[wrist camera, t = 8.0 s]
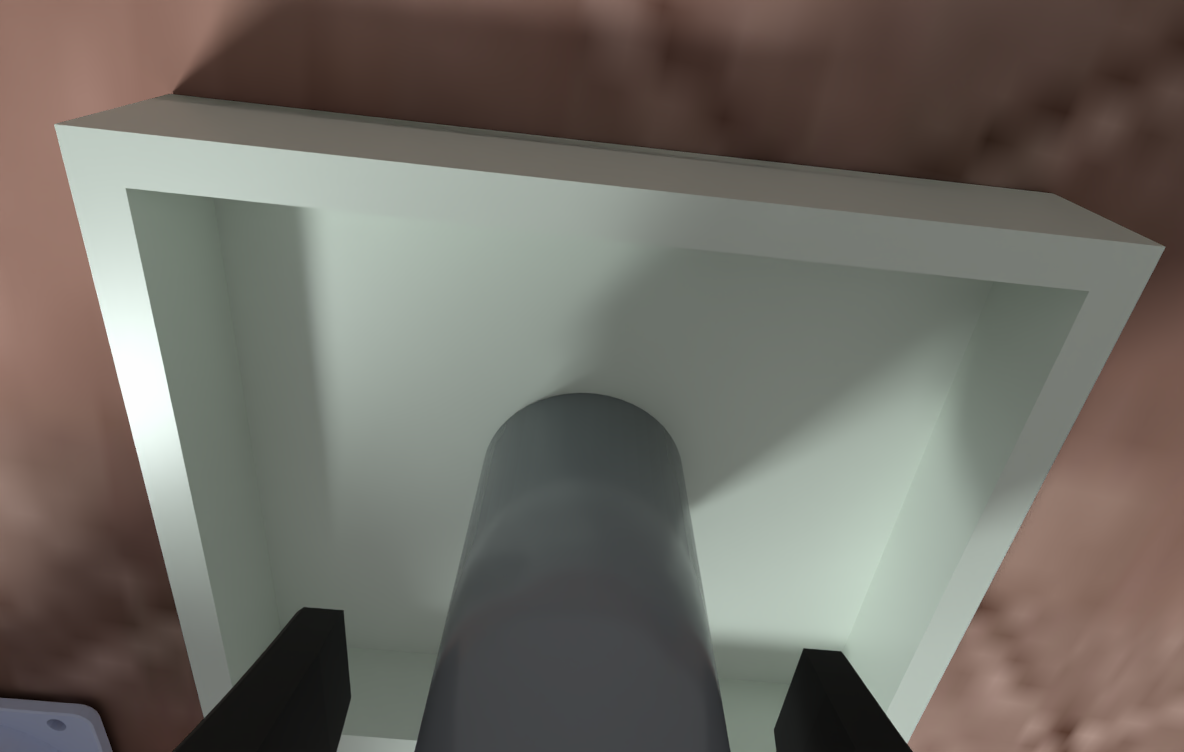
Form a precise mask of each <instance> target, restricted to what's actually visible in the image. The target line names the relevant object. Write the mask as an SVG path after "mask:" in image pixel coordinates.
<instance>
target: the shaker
mask: <svg viewBox="0 0 1184 752" xmlns="http://www.w3.org/2000/svg"><path fill="white" fill-rule="evenodd" d="M414 752H731V751H730V745H729V739H728V734H727V728H726V722H725V716H724V710H723V704H722V698H721V692H720V686H719V680H718V674H717V668H716V663H715V657H714V651H713V645H712V639H711V633H710V627H709V621H708V615H707V609H706V603H705V598H704V592H703V586H702V580H701V574H700V568H699V562H698V556H697V550H696V544H695V538H694V533H693V527H692V521H691V515H690V509H689V503H688V497H687V491H686V485H685V479H684V473H683V467H682V462H681V457H680V454H679V451H678V449H677V446H676V444H675V442H674V441H673V439H672V437H671V436H670V434H669V433H668V432H667V430H666V429H665V428H664V427H663V426H662V425H661V424H660V423H659V422H658V421H657V420H656V419H655V418H654V417H653V416H651V415H650V414H649V413H647V412H646V411H644V410H643V409H641V408H639V407H637V406H635V405H634V404H631V403H629V402H626V401H624V400H621V399H618V398H615V397H611V396H607V395H601V394H594V393H570V394H562V395H557V396H552V397H549V398H545V399H542V400H539V401H537V402H535V403H532V404H530V405H528V406H526V407H524V408H523V409H521V410H520V411H518V412H516V413H515V414H514V415H513V416H511V417H510V418H509V419H508V420H507V421H506V422H505V423H504V424H503V425H502V426H501V427H500V428H499V429H498V431H497V432H496V434H495V435H494V436H493V438H492V440H491V442H490V444H489V446H488V448H487V451H486V455H485V458H484V462H483V466H482V470H481V475H480V479H479V483H478V487H477V491H476V496H475V500H474V504H473V508H472V512H471V517H470V521H469V525H468V529H467V533H466V538H465V542H464V546H463V550H462V554H461V558H460V563H459V567H458V571H457V575H456V579H455V584H454V588H453V592H452V596H451V600H450V605H449V609H448V613H447V617H446V621H445V626H444V630H443V634H442V638H441V642H440V646H439V651H438V655H437V659H436V663H435V667H434V672H433V676H432V680H431V684H430V688H429V693H428V697H427V701H426V705H425V709H424V714H423V718H422V722H421V726H420V730H419V734H418V739H417V743H416V747H415V751H414Z"/></svg>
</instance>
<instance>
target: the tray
mask: <svg viewBox="0 0 1184 752" xmlns="http://www.w3.org/2000/svg"><path fill="white" fill-rule="evenodd" d="M54 125H55V129H56V133H57V137H58V141H59V145H60V149H61V153H62V157H63V161H64V165H65V169H66V173H67V177H68V181H69V185H70V189H71V193H72V197H73V201H74V205H75V209H76V213H77V217H78V221H79V224H80V228H81V232H82V236H83V240H84V244H85V248H86V252H87V256H88V260H89V264H90V268H91V272H92V276H93V280H94V284H95V288H96V292H97V296H98V300H99V304H100V308H101V312H102V316H103V320H104V324H105V328H106V332H107V336H108V340H109V343H110V347H111V351H112V355H113V359H114V363H115V367H116V371H117V375H118V379H119V383H120V387H121V391H122V395H123V399H124V403H125V407H126V411H127V415H128V419H129V423H130V427H131V431H132V435H133V439H134V443H135V447H136V451H137V455H138V459H139V462H140V466H141V470H142V474H143V478H144V482H145V486H146V490H147V494H148V498H149V502H150V506H151V510H152V514H153V518H154V522H155V526H156V530H157V534H158V538H159V542H160V546H161V550H162V554H163V558H164V562H165V566H166V570H167V574H168V578H169V582H170V585H171V589H172V593H173V597H174V601H175V605H176V609H177V613H178V617H179V621H180V625H181V629H182V633H183V637H184V641H185V645H186V649H187V653H188V657H189V661H190V665H191V669H192V673H193V677H194V681H195V685H196V689H197V693H198V697H199V701H200V704H201V708H202V712H203V716H204V718H205V717H206V716H207V715H208V713H209V712H210V711H211V710H212V709H213V708H214V707H215V706H216V705H217V704H218V703H219V702H220V701H221V699H222V698H223V697H224V696H225V695H226V694H227V693H228V692H229V691H230V690H231V689H232V687H233V686H234V685H235V684H236V683H237V682H238V681H239V680H240V678H241V677H242V676H243V675H244V674H245V673H246V672H247V670H248V669H249V668H250V667H251V666H252V665H253V664H254V662H255V661H256V660H257V659H258V658H259V657H260V656H261V654H262V653H263V652H264V651H265V650H266V648H267V647H268V646H269V645H270V644H271V643H272V641H273V640H274V639H275V638H276V637H277V635H278V634H279V633H280V632H281V631H282V629H283V628H284V627H285V626H286V625H287V623H288V622H289V621H290V620H291V618H292V617H293V616H294V615H295V613H296V612H297V611H299V610H300V609H302V608H303V607H310V608H322V609H335V610H344V620H345V631H346V643H347V654H348V665H349V676H350V688H351V701H350V704H349V708H348V712H347V716H346V719H345V723H344V727H343V731H342V734H341V738H340V741H339V745H338V748H337V752H414V751H415V747H416V743H417V739H418V734H419V730H420V726H421V722H422V718H423V714H424V709H425V705H426V701H427V697H428V693H429V688H430V684H431V680H432V676H433V672H434V667H435V663H436V659H437V655H438V651H439V646H440V642H441V638H442V634H443V630H444V626H445V621H446V617H447V613H448V609H449V605H450V600H451V596H452V592H453V588H454V584H455V579H456V575H457V571H458V567H459V563H460V558H461V554H462V550H463V546H464V542H465V538H466V533H467V529H468V525H469V521H470V517H471V512H472V508H473V504H474V500H475V496H476V491H477V487H478V483H479V479H480V475H481V470H482V466H483V462H484V458H485V455H486V451H487V448H488V446H489V444H490V442H491V440H492V438H493V436H494V435H495V434H496V432H497V431H498V429H499V428H500V427H501V426H502V425H503V424H504V423H505V422H506V421H507V420H508V419H509V418H510V417H511V416H513V415H514V414H515V413H516V412H518V411H520V410H521V409H523V408H524V407H526V406H528V405H530V404H532V403H535V402H537V401H539V400H542V399H545V398H549V397H552V396H557V395H562V394H570V393H594V394H601V395H607V396H611V397H615V398H618V399H621V400H624V401H626V402H629V403H631V404H634V405H635V406H637V407H639V408H641V409H643V410H644V411H646V412H647V413H649V414H650V415H651V416H653V417H654V418H655V419H656V420H657V421H658V422H659V423H660V424H661V425H662V426H663V427H664V428H665V429H666V430H667V432H668V433H669V434H670V436H671V437H672V439H673V441H674V442H675V444H676V446H677V449H678V451H679V454H680V457H681V462H682V467H683V473H684V479H685V485H686V491H687V497H688V503H689V509H690V515H691V521H692V527H693V533H694V538H695V544H696V550H697V556H698V562H699V568H700V574H701V580H702V586H703V592H704V598H705V603H706V609H707V615H708V621H709V627H710V633H711V639H712V645H713V651H714V657H715V663H716V668H717V674H718V680H719V686H720V692H721V698H722V704H723V710H724V716H725V722H726V728H727V734H728V739H729V745H730V751H731V752H776V745H775V737H774V728H775V725H776V722H777V719H778V717H779V714H780V711H781V708H782V706H783V703H784V700H785V697H786V695H787V692H788V689H789V686H790V684H791V681H792V678H793V675H794V673H795V670H796V667H797V665H798V662H799V659H800V656H801V654H802V651H803V648H807V649H819V650H831V651H841V652H842V653H843V654H844V655H845V657H846V658H847V659H848V661H849V662H850V664H851V665H852V666H853V668H854V669H855V671H856V672H857V674H858V675H859V677H860V678H861V679H862V681H863V682H864V684H865V685H866V687H867V688H868V689H869V691H870V692H871V694H872V695H873V697H874V698H875V699H876V701H877V702H878V704H879V705H880V707H881V708H882V709H883V711H884V712H885V714H886V715H887V717H888V718H889V719H890V721H891V722H892V724H893V725H894V726H895V728H896V729H897V731H898V732H899V733H900V735H901V736H902V738H903V739H904V740H905V742H906V743H908V741H909V739H910V737H911V735H912V733H913V731H914V729H915V727H916V725H917V724H918V722H919V720H920V718H921V716H922V714H923V712H924V710H925V708H926V706H927V704H928V702H929V700H930V699H931V697H932V695H933V693H934V691H935V689H936V687H937V685H938V683H939V681H940V679H941V677H942V676H943V674H944V672H945V670H946V668H947V666H948V664H949V662H950V660H951V658H952V656H953V654H954V653H955V651H956V649H957V647H958V645H959V643H960V641H961V639H962V637H963V635H964V633H965V631H966V629H967V628H968V626H969V624H970V622H971V620H972V618H973V616H974V614H975V612H976V610H977V608H978V606H979V605H980V603H981V601H982V599H983V597H984V595H985V593H986V591H987V589H988V587H989V585H990V583H991V581H992V580H993V578H994V576H995V574H996V572H997V570H998V568H999V566H1000V564H1001V562H1002V560H1003V558H1004V557H1005V555H1006V553H1007V551H1008V549H1009V547H1010V545H1011V543H1012V541H1013V539H1014V537H1015V535H1016V533H1017V532H1018V530H1019V528H1020V526H1021V524H1022V522H1023V520H1024V518H1025V516H1026V514H1027V512H1028V510H1029V509H1030V507H1031V505H1032V503H1033V501H1034V499H1035V497H1036V495H1037V493H1038V491H1039V489H1040V487H1041V485H1042V484H1043V482H1044V480H1045V478H1046V476H1047V474H1048V472H1049V470H1050V468H1051V466H1052V464H1053V462H1054V461H1055V459H1056V457H1057V455H1058V453H1059V451H1060V449H1061V447H1062V445H1063V443H1064V441H1065V439H1066V438H1067V436H1068V434H1069V432H1070V430H1071V428H1072V426H1073V424H1074V422H1075V420H1076V418H1077V416H1078V414H1079V413H1080V411H1081V409H1082V407H1083V405H1084V403H1085V401H1086V399H1087V397H1088V395H1089V393H1090V391H1091V390H1092V388H1093V386H1094V384H1095V382H1096V380H1097V378H1098V376H1099V374H1100V372H1101V370H1102V368H1103V366H1104V365H1105V363H1106V361H1107V359H1108V357H1109V355H1110V353H1111V351H1112V349H1113V347H1114V345H1115V343H1116V342H1117V340H1118V338H1119V336H1120V334H1121V332H1122V330H1123V328H1124V326H1125V324H1126V322H1127V320H1128V318H1129V317H1130V315H1131V313H1132V311H1133V309H1134V307H1135V305H1136V303H1137V301H1138V299H1139V297H1140V295H1141V294H1142V292H1143V290H1144V288H1145V286H1146V284H1147V282H1148V280H1149V278H1150V276H1151V274H1152V272H1153V270H1154V269H1155V267H1156V265H1157V263H1158V261H1159V259H1160V257H1161V255H1162V253H1163V251H1164V249H1165V246H1163V245H1161V244H1159V243H1157V242H1154V241H1152V240H1150V239H1148V238H1146V237H1144V236H1142V235H1140V234H1138V233H1136V232H1133V231H1131V230H1129V229H1127V228H1125V227H1123V226H1121V225H1119V224H1117V223H1114V222H1112V221H1110V220H1108V219H1106V218H1104V217H1102V216H1100V215H1098V214H1096V213H1093V212H1091V211H1089V210H1087V209H1085V208H1083V207H1081V206H1079V205H1077V204H1074V203H1072V202H1070V201H1068V200H1066V199H1064V198H1062V197H1060V196H1058V195H1056V194H1053V193H1045V192H1036V191H1027V190H1018V189H1009V188H1001V187H992V186H983V185H974V184H965V183H956V182H947V181H939V180H930V179H921V178H912V177H903V176H894V175H885V174H876V173H868V172H859V171H850V170H841V169H832V168H823V167H814V166H805V165H797V164H788V163H779V162H770V161H761V160H752V159H743V158H735V157H726V156H717V155H708V154H699V153H690V152H681V151H672V150H664V149H655V148H646V147H637V146H628V145H619V144H610V143H601V142H593V141H584V140H575V139H566V138H557V137H548V136H539V135H530V134H522V133H513V132H504V131H495V130H486V129H477V128H468V127H460V126H451V125H442V124H433V123H424V122H415V121H406V120H397V119H389V118H380V117H371V116H362V115H353V114H344V113H335V112H326V111H318V110H309V109H300V108H291V107H282V106H273V105H264V104H255V103H247V102H238V101H229V100H220V99H211V98H202V97H193V96H185V95H176V94H167V95H163V96H160V97H156V98H152V99H148V100H144V101H141V102H137V103H133V104H129V105H125V106H121V107H118V108H114V109H110V110H106V111H102V112H99V113H95V114H91V115H87V116H83V117H80V118H76V119H72V120H68V121H64V122H60V123H57V124H54Z"/></svg>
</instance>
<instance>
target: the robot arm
mask: <svg viewBox="0 0 1184 752" xmlns="http://www.w3.org/2000/svg"><path fill="white" fill-rule="evenodd" d="M350 701H351V688H350V676H349V665H348V654H347V643H346V631H345V620H344V610H335V609H322V608H310V607H303V608H302V609H300V610H299V611H297V612H296V613H295V615H294V616H293V617H292V618H291V620H290V621H289V622H288V623H287V625H286V626H285V627H284V628H283V629H282V631H281V632H280V633H279V634H278V635H277V637H276V638H275V639H274V640H273V641H272V643H271V644H270V645H269V646H268V647H267V648H266V650H265V651H264V652H263V653H262V654H261V656H260V657H259V658H258V659H257V660H256V661H255V662H254V664H253V665H252V666H251V667H250V668H249V669H248V670H247V672H246V673H245V674H244V675H243V676H242V677H241V678H240V680H239V681H238V682H237V683H236V684H235V685H234V686H233V687H232V689H231V690H230V691H229V692H228V693H227V694H226V695H225V696H224V697H223V698H222V699H221V701H220V702H219V703H218V704H217V705H216V706H215V707H214V708H213V709H212V710H211V711H210V712H209V713H208V715H207V716H206V717H205V718H204V719H203V720H202V721H201V722H200V723H199V724H198V725H197V726H196V728H195V729H194V730H193V731H192V732H191V733H190V734H189V735H188V736H187V737H186V738H185V739H184V740H183V741H182V742H181V743H180V744H179V745H178V746H177V747H176V748H175V749H174V750H173V751H172V752H337V748H338V745H339V741H340V738H341V734H342V731H343V727H344V723H345V719H346V716H347V712H348V708H349V704H350ZM774 737H775V745H776V752H913V751H912V750H911V749H910V747H909V746H908V745H907V743H906V742H905V740H904V739H903V738H902V736H901V735H900V733H899V732H898V731H897V729H896V728H895V726H894V725H893V724H892V722H891V721H890V719H889V718H888V717H887V715H886V714H885V712H884V711H883V709H882V708H881V707H880V705H879V704H878V702H877V701H876V699H875V698H874V697H873V695H872V694H871V692H870V691H869V689H868V688H867V687H866V685H865V684H864V682H863V681H862V679H861V678H860V677H859V675H858V674H857V672H856V671H855V669H854V668H853V666H852V665H851V664H850V662H849V661H848V659H847V658H846V657H845V655H844V654H843V653H842V652H841V651H831V650H819V649H807V648H803V651H802V654H801V656H800V659H799V662H798V665H797V667H796V670H795V673H794V675H793V678H792V681H791V684H790V686H789V689H788V692H787V695H786V697H785V700H784V703H783V706H782V708H781V711H780V714H779V717H778V719H777V722H776V725H775V728H774ZM0 752H113V751H112V748H111V745H110V743H109V740H108V737H107V734H106V732H105V729H104V726H103V723H102V721H101V718H100V715H99V714H98V712H97V711H96V710H95V709H93V708H92V707H89V706H87V705H83V704H76V703H63V702H51V701H38V700H25V699H13V698H0Z"/></svg>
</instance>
